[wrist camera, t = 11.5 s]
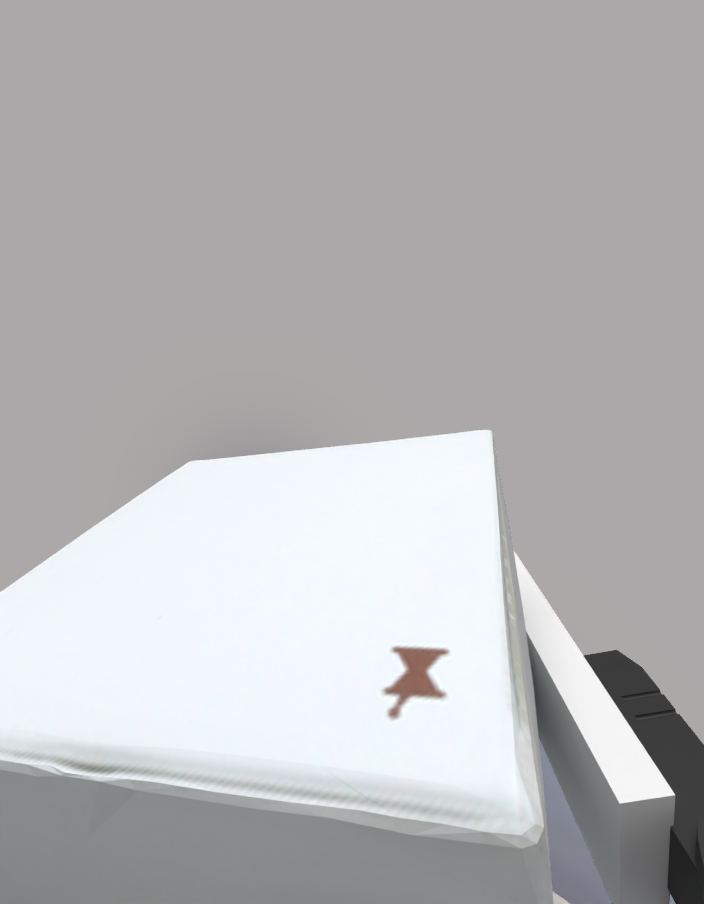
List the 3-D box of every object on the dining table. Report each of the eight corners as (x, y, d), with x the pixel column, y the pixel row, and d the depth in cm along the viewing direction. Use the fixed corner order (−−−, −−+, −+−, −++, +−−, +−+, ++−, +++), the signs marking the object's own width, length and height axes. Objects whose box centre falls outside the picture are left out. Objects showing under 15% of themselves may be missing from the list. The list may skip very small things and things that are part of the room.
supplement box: (544, 841, 13) (509, 419, 9) (603, 1437, 6) (572, 871, 2) (306, 802, 15) (189, 452, 11) (169, 1211, 9) (-235, 725, 5)
